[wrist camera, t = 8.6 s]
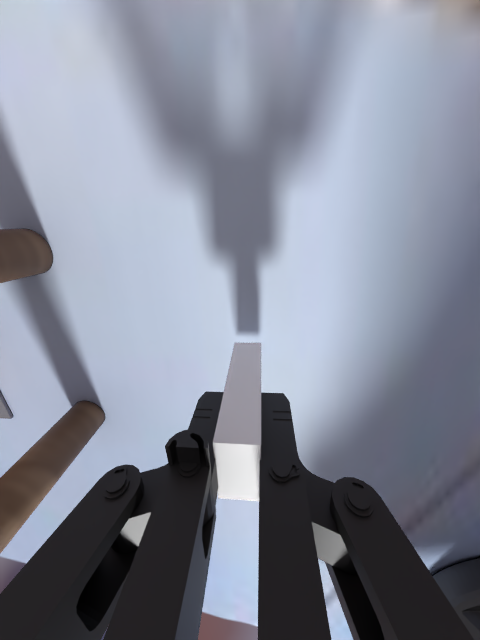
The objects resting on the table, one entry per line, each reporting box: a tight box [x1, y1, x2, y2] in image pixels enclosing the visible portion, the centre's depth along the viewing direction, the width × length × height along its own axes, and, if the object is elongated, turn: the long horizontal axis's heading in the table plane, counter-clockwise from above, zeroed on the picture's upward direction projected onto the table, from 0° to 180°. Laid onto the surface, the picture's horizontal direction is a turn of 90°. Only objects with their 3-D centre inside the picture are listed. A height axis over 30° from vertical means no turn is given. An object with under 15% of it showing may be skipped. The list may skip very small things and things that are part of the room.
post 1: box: [0, 401, 105, 553], centre depth 14 cm, size 3×3×10 cm
